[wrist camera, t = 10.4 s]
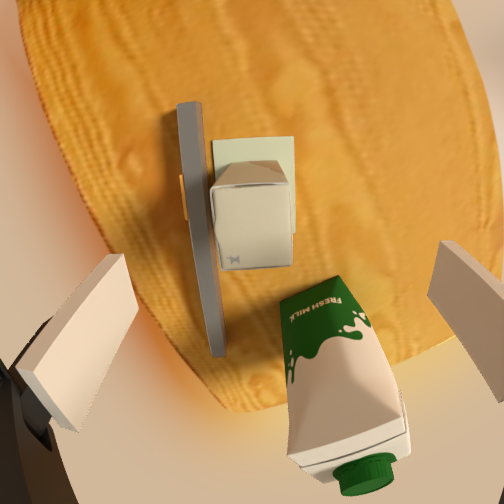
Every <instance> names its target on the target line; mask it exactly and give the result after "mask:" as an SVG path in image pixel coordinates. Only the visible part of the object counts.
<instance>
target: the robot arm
mask: <svg viewBox="0 0 504 504" xmlns="http://www.w3.org/2000/svg"><path fill="white" fill-rule="evenodd" d="M427 296H428V298H429V299H430V300H431V302H432V303H433V304H434V305H435V307H436V308H437V309H438V311H439V312H440V314H441V315H442V316H443V318H444V319H445V320H446V322H447V323H448V325H449V326H450V327H451V329H452V330H453V332H454V333H455V334H456V336H457V337H458V339H459V340H460V342H461V343H462V345H463V346H464V348H465V349H466V350H467V352H468V354H469V355H470V357H471V358H472V360H473V361H474V363H475V364H476V366H477V368H478V369H479V370H480V372H481V374H482V376H483V377H484V379H485V381H486V382H487V384H488V386H489V387H490V389H491V391H492V393H493V394H494V396H495V398H496V399H497V401H498V403H500V402H502V401H504V284H503V283H502V282H500V281H499V280H498V279H497V278H496V277H495V276H494V275H493V274H492V273H491V272H490V271H488V270H487V269H486V268H485V267H484V266H483V265H482V264H481V263H479V262H478V261H477V260H476V259H475V258H474V257H472V256H471V255H470V254H469V253H468V252H467V251H465V250H464V249H463V248H462V247H460V246H459V245H458V244H457V243H456V242H454V241H453V240H448V241H440V243H439V248H438V253H437V257H436V262H435V266H434V270H433V274H432V279H431V282H430V286H429V290H428V294H427ZM138 310H139V308H138V305H137V301H136V298H135V295H134V291H133V288H132V284H131V280H130V277H129V273H128V269H127V265H126V262H125V258H124V254H108V255H107V256H106V257H105V258H104V259H103V260H102V261H101V262H100V263H99V264H98V265H97V266H96V267H95V269H94V270H93V271H92V272H91V273H90V274H89V275H88V276H87V277H86V278H85V280H84V281H83V282H82V283H81V284H80V285H79V286H78V288H77V289H76V290H75V291H74V292H73V293H72V295H71V296H70V297H69V298H68V299H67V300H66V302H65V303H64V304H63V305H62V306H61V308H60V309H59V310H58V311H57V312H56V314H55V315H54V316H53V317H51V318H50V319H48V320H47V321H46V322H44V323H43V324H42V325H41V327H40V328H39V329H38V330H37V332H36V333H35V335H34V336H33V337H32V338H31V339H30V341H29V343H27V345H26V346H25V347H24V349H23V350H22V351H21V353H20V354H19V355H18V357H17V358H16V359H15V361H14V362H13V364H12V365H11V366H10V368H9V369H8V370H7V368H6V367H5V365H4V363H3V362H2V360H1V359H0V504H79V503H78V501H77V499H76V496H75V494H74V492H73V489H72V487H71V484H70V482H69V479H68V476H67V474H66V471H65V468H64V465H63V462H62V459H61V456H60V453H59V450H58V446H57V443H56V439H55V436H54V432H53V429H52V427H51V426H50V424H49V421H50V418H51V417H53V418H54V420H55V421H56V422H57V423H58V424H59V425H60V427H62V428H65V429H68V430H72V431H75V432H78V433H79V432H80V430H81V427H82V425H83V422H84V420H85V418H86V416H87V413H88V411H89V408H90V407H91V404H92V402H93V400H94V398H95V396H96V393H97V391H98V389H99V387H100V385H101V383H102V381H103V379H104V376H105V374H106V372H107V370H108V368H109V366H110V364H111V362H112V360H113V358H114V356H115V354H116V352H117V350H118V348H119V346H120V344H121V342H122V340H123V338H124V336H125V334H126V332H127V330H128V329H129V326H130V325H131V323H132V321H133V319H134V317H135V316H136V313H137V312H138ZM499 504H504V488H503V491H502V495H501V498H500V501H499Z"/></svg>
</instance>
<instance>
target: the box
mask: <svg viewBox="0 0 504 504" xmlns="http://www.w3.org/2000/svg"><path fill="white" fill-rule="evenodd" d="M210 200H211V210H212V218H213V225H214V232H215V239H216V246H217V252H218V259H219V265H220V269H221V271H233V270H252V269H266V268H277V267H289V266H291V265H292V259H293V227H292V206H291V192H290V184H289V182H288V180H287V178H286V176H285V174H284V172H283V170H282V168H281V166H280V165H279V163H278V161H277V160H260V161H244V162H234V163H231V164H230V165H229V166H228V167H227V169H226V170H225V171H224V172H223V173H222V175H221V176H220V177H219V178H218V180H217V181H216V182H215V183H214V184H213V186H212V187H211V188H210Z"/></svg>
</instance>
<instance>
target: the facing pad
mask: <svg viewBox="0 0 504 504" xmlns="http://www.w3.org/2000/svg"><path fill="white" fill-rule="evenodd" d="M212 142H213V154H214V166H215V177H216V181H217V180H218V178H219V177H220V176H221V175H222V173H223V172H224V171H225V170H226V169H227V167H228V166H229V165H230V164H231V163H234V162H244V161H260V160H277V161H278V163H279V165H280V166H281V168H282V170H283V172H284V174H285V176H286V178H287V180H288V182H289V184H290V192H291V206H292V227H293V233H295V164H294V136H281V137H255V138H238V139H224V140H213V141H212Z"/></svg>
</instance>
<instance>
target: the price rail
mask: <svg viewBox="0 0 504 504" xmlns="http://www.w3.org/2000/svg"><path fill="white" fill-rule="evenodd" d="M176 109H177V121H178V133H179V144H180V154H181V163H182V172H183V173H182V174H180V175H179V177H180V186H181V194H182V202H183V209H184V217H185V220H188V221H189V228H190V235H191V242H192V249H193V256H194V262H195V268H196V274H197V281H198V286H199V292H200V298H201V304H202V309H203V315H204V320H205V325H206V331H207V336H208V341H209V346H210V351H211V355H212V357H226V351H227V343H228V342H227V335H226V328H225V321H224V314H223V307H222V299H221V292H220V284H219V276H218V268H217V260H216V252H215V243H214V234H213V225H212V216H211V207H210V197H209V187H208V177H207V166H206V155H205V143H204V131H203V118H202V104H201V103H200V102H196V101H194V102H187V103H180V104H176Z"/></svg>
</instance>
